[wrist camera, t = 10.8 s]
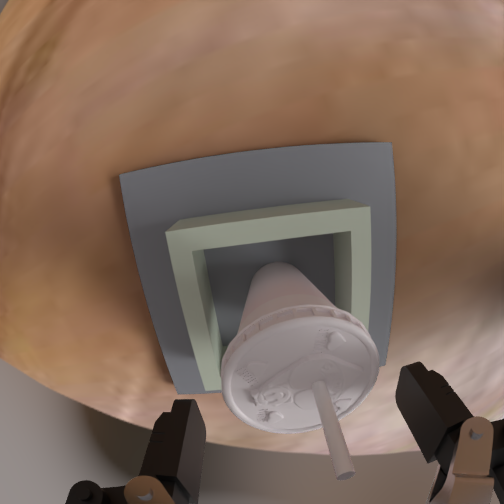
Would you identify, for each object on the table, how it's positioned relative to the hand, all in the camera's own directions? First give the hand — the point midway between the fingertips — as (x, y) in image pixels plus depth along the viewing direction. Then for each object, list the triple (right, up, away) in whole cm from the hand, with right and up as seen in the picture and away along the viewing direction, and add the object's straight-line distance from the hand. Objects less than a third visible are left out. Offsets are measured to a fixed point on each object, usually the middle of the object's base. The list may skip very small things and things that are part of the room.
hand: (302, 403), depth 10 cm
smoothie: (0, +3, +10) cm, 10 cm away
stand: (0, +4, +11) cm, 11 cm away
